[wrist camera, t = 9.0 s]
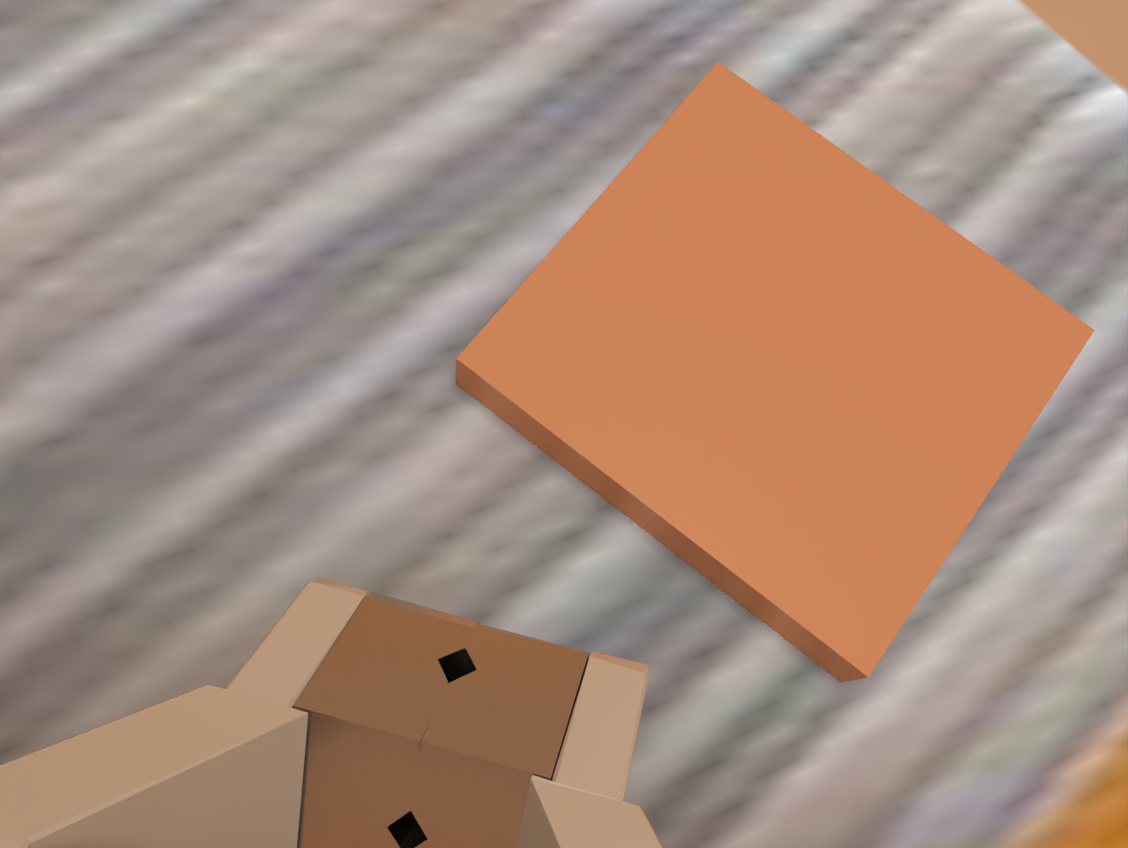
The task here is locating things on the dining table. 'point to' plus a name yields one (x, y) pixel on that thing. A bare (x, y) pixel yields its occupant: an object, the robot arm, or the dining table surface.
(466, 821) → the robot arm
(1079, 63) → the dining table surface
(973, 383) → the tile
